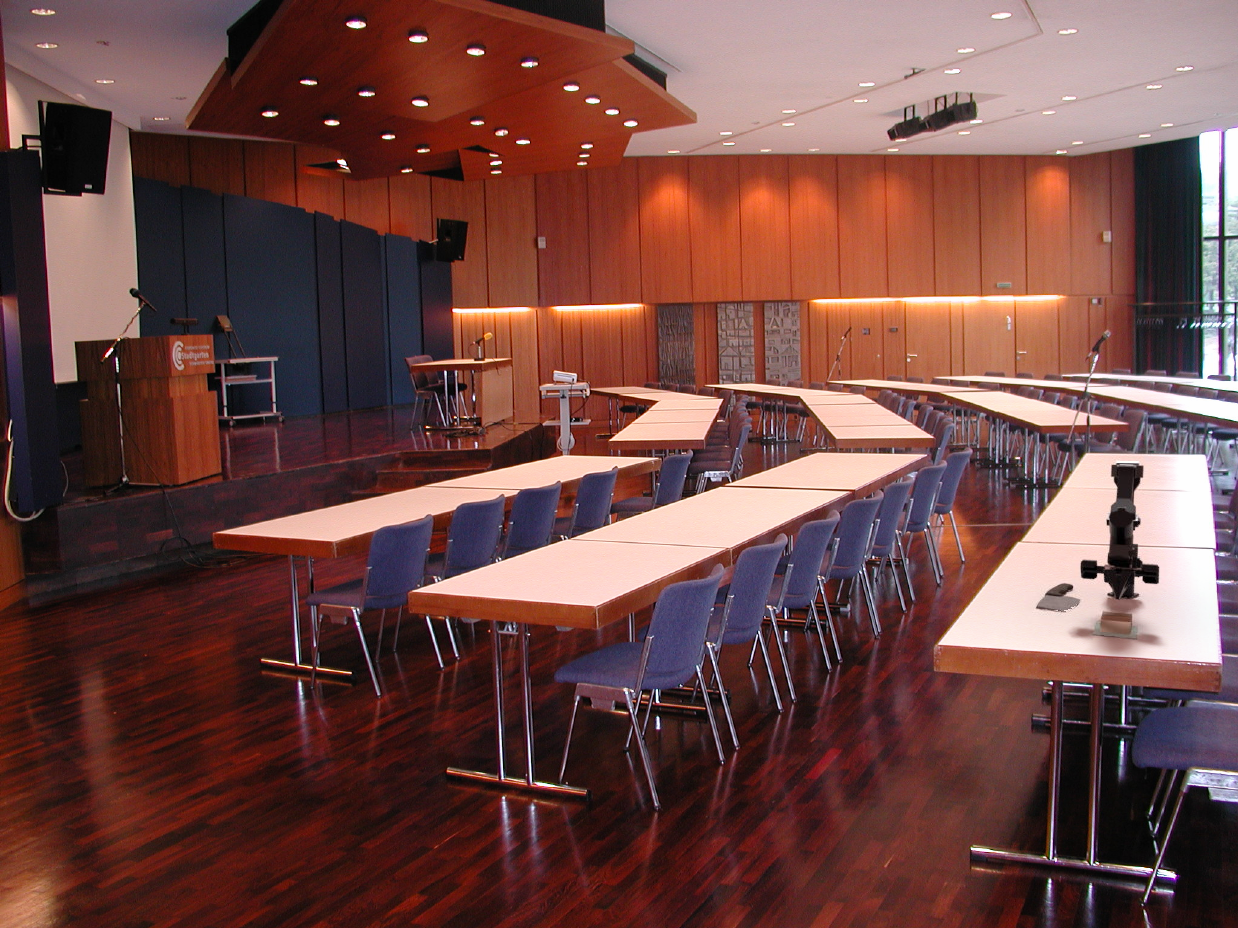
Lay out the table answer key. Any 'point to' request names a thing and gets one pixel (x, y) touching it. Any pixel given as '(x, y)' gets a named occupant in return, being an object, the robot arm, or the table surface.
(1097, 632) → the mat
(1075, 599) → the cleaver
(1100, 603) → the table surface
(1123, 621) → the slab
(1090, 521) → the table surface
